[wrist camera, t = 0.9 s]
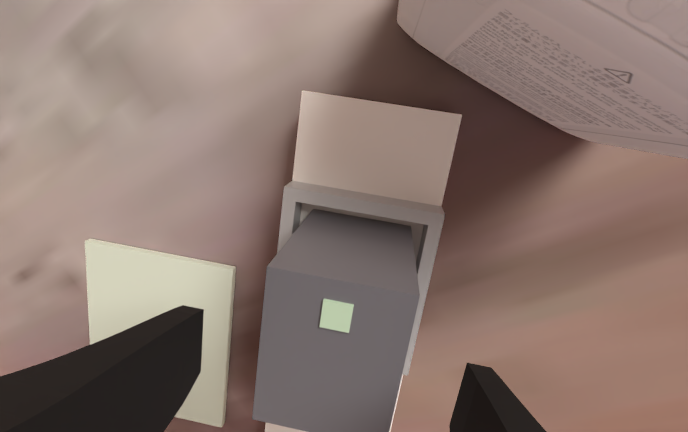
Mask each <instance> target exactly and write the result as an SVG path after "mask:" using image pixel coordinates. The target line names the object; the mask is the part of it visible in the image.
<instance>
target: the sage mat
mask: <svg viewBox="0 0 688 432" xmlns="http://www.w3.org/2000/svg"><path fill="white" fill-rule="evenodd" d="M85 255H86V275H87V295H88V315H89V336H90V345H91V344H93V343H96V342H98V341H101V340H103V339H106V338H108V337H110V336H113V335H115V334H117V333H120V332H122V331H124V330H126V329H129V328H131V327H133V326H135V325H138V324H140V323H142V322H144V321H147V320H149V319H151V318H153V317H155V316H158V315H160V314H162V313H164V312H167V311H169V310H171V309H174V308H176V307H179V306H182V305H184V306H189V307H194V308H199V309H204V314H203V336H202V358H201V372H200V374H199V376H198V378H197V380H196V382H195V383H194V385H193V387H192V389H191V391H190V393H189V394H188V396H187V398H186V400H185V401H184V403H183V405H182V406H181V408H180V409H179V411H178V412H177V413H176V415H175V416H174V417H177V418H182V419H186V420H190V421H195V422H199V423H204V424H208V425H212V426H217V427H221V428H222V427H223V425H224V423H225V413H226V400H227V386H228V372H229V358H230V344H231V330H232V316H233V302H234V289H235V275H236V267H235V266H230V265H225V264H220V263H215V262H210V261H204V260H199V259H194V258H189V257H184V256H178V255H173V254H168V253H163V252H158V251H153V250H147V249H142V248H137V247H132V246H127V245H121V244H116V243H111V242H106V241H101V240H96V239H88V240H86V241H85Z"/></svg>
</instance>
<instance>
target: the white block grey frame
mask: <svg viewBox="0 0 688 432" xmlns="http://www.w3.org/2000/svg"><path fill="white" fill-rule="evenodd" d="M461 118H462V115H461V114H454V113H448V112H441V111H435V110H428V109H422V108H415V107H408V106H402V105H395V104H389V103H382V102H376V101H369V100H363V99H356V98H350V97H343V96H336V95H330V94H323V93H317V92H310V91H304V90H302V96H301V105H300V114H299V123H298V132H297V141H296V150H295V159H294V169H293V178H292V181H291V182H290V183H288V184H287V185H285V186H284V191H283V201H282V211H281V220H280V230H279V240H278V249H277V253H278V252H279V251H280V249H281V248H282V247H283V246H284V244H285V243H286V242H287V241H288V240H289V238H290V237H291V236H292V235H293V233H294V232H295V231H296V230H297V228H298V227H299V226H300V225H301V223H302V222H303V221H304V220H305V218H306V217H307V216H308V215H309V213H310V212H311V211H312V210H313V209H319V210H324V211H330V212H335V213H341V214H347V215H352V216H358V217H364V218H369V219H375V220H381V221H386V222H392V223H397V224H403V225H409V226H411V230H412V238H413V246H414V254H415V261H416V269H417V277H418V285H419V293H420V298H419V302H418V306H417V311H416V315H415V320H414V324H413V328H412V333H411V337H410V342H409V346H408V351H407V355H406V359H405V364H404V368H403V373H402V377H401V382H402V378H403V375H408V373H409V368H410V364H411V360H412V356H413V351H414V347H415V343H416V338H417V334H418V330H419V325H420V321H421V317H422V312H423V308H424V304H425V299H426V295H427V291H428V286H429V282H430V278H431V273H432V269H433V265H434V261H435V256H436V252H437V248H438V243H439V239H440V235H441V230H442V226H443V222H444V217H445V213H444V211H443V209H442V207H441V206H442V202H443V197H444V193H445V188H446V184H447V180H448V175H449V171H450V166H451V162H452V158H453V153H454V149H455V144H456V140H457V136H458V131H459V127H460V122H461ZM401 382H400V386H401ZM400 386H399V390H398V395H399V391H400ZM398 395H397V399H396V404H397V400H398ZM396 404H395V408H396ZM395 408H394V412H393V417H394V413H395ZM393 417H392V421H391V426H392V422H393ZM391 426H390V430H391ZM390 430H389V432H390ZM265 432H306V431H302V430H297V429H293V428H289V427H284V426H280V425H275V424H271V423H266V424H265Z"/></svg>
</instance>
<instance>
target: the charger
mask: <svg viewBox="0 0 688 432" xmlns="http://www.w3.org/2000/svg"><path fill="white" fill-rule="evenodd" d="M419 298H420V293H419V285H418V277H417V269H416V261H415V254H414V246H413V238H412V230H411V226H409V225H403V224H397V223H392V222H386V221H381V220H375V219H369V218H364V217H358V216H352V215H347V214H341V213H335V212H330V211H324V210H319V209H313V210H312V211H311V212H310V213H309V215H308V216H307V217H306V218H305V220H304V221H303V222H302V223H301V225H300V226H299V227H298V228H297V230H296V231H295V232H294V233H293V235H292V236H291V237H290V238H289V240H288V241H287V242H286V243H285V244H284V246H283V247H282V248H281V249H280V251H279V252H278V253H277V254H276V256H275V257H274V258H273V259H272V261H271V262H270V263H269V264H268V266H267V271H266V281H265V291H264V302H263V312H262V322H261V333H260V343H259V353H258V364H257V374H256V384H255V395H254V405H253V415H252V419H253V420H257V421H262V422H266V423H271V424H275V425H280V426H284V427H289V428H293V429H297V430H302V431H306V432H389V430H390V426H391V421H392V417H393V412H394V408H395V404H396V399H397V395H398V390H399V386H400V382H401V377H402V373H403V368H404V364H405V359H406V355H407V351H408V346H409V342H410V337H411V333H412V328H413V324H414V320H415V315H416V311H417V306H418V302H419Z"/></svg>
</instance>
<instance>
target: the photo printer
mask: <svg viewBox="0 0 688 432" xmlns="http://www.w3.org/2000/svg"><path fill="white" fill-rule="evenodd" d="M397 23H398V25H399V26H400V27H401V28H402V29H403V30H404V31H405V32H406V33H407V34H408V35H409V36H410V37H411V38H413V39H414V40H415V41H416V42H417V43H419V44H420V45H421V46H423V47H424V48H426V49H427V50H429V51H430V52H431V53H433V54H434V55H436V56H437V57H439V58H441V59H442V60H444V61H445V62H446V63H448V64H449V65H451V66H453V67H455V68H456V69H458V70H459V71H461V72H463V73H464V74H466V75H467V76H469V77H471V78H472V79H474V80H475V81H477V82H479V83H480V84H482V85H484V86H485V87H487V88H489V89H490V90H492V91H494V92H495V93H497V94H499V95H500V96H502V97H504V98H506V99H507V100H509V101H511V102H512V103H514V104H515V105H517V106H519V107H521V108H522V109H524V110H526V111H528V112H529V113H531V114H533V115H535V116H537V117H538V118H540V119H542V120H544V121H546V122H548V123H549V124H551V125H553V126H555V127H557V128H558V129H560V130H562V131H564V132H567V133H569V134H571V135H574V136H576V137H579V138H582V139H585V140H588V141H591V142H595V143H599V144H605V145H611V146H616V147H622V148H628V149H634V150H639V151H645V152H650V153H656V154H662V155H667V156H672V157H678V158H684V159H688V0H399V3H398V13H397Z"/></svg>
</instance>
